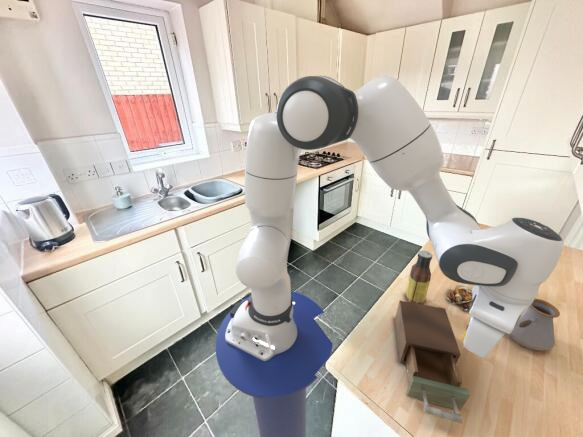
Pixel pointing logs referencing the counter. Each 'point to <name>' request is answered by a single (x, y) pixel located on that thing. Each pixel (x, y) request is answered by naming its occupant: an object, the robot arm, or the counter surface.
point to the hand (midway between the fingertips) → (476, 337)
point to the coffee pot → (536, 326)
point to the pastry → (461, 297)
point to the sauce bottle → (419, 278)
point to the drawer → (435, 381)
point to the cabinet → (424, 329)
